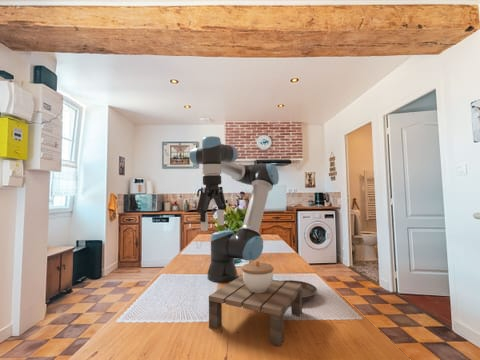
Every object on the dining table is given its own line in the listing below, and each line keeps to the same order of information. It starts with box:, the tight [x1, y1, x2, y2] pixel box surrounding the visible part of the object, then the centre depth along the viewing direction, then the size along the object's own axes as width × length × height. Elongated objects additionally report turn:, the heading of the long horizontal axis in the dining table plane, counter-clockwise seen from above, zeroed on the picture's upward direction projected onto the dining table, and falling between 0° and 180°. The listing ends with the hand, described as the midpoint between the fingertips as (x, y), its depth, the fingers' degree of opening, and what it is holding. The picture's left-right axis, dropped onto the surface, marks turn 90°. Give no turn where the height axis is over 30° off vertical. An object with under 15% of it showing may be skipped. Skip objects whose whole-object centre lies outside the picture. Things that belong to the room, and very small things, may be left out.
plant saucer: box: [283, 279, 318, 303], centre depth 113 cm, size 21×21×3 cm
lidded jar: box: [241, 261, 274, 293], centre depth 92 cm, size 11×11×9 cm
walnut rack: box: [208, 274, 303, 347], centre depth 92 cm, size 24×24×10 cm
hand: (213, 227), depth 109 cm, fingers open, 13 cm apart
